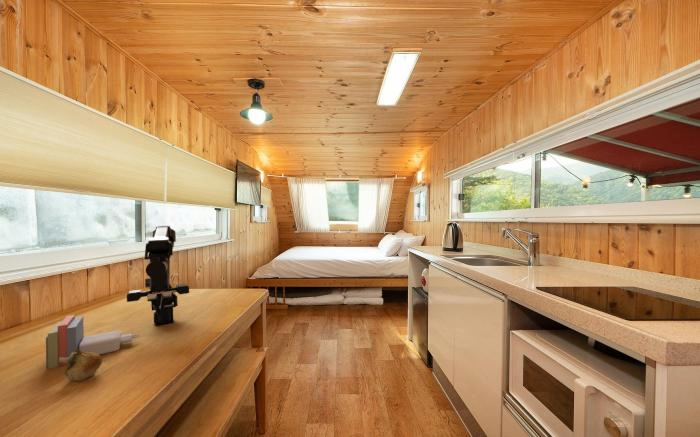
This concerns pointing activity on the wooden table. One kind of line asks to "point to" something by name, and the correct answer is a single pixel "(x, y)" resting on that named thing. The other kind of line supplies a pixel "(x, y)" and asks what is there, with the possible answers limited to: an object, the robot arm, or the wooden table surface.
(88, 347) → the charger
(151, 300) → the robot arm
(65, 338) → the book row
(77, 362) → the onion
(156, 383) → the wooden table surface
